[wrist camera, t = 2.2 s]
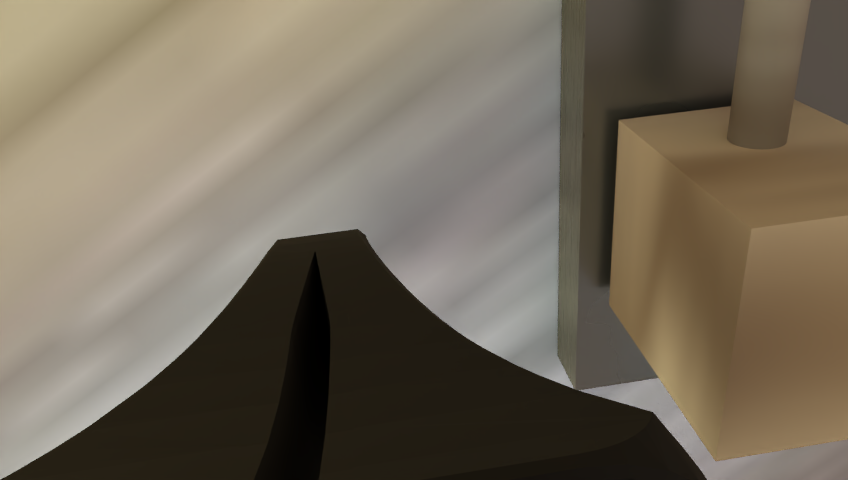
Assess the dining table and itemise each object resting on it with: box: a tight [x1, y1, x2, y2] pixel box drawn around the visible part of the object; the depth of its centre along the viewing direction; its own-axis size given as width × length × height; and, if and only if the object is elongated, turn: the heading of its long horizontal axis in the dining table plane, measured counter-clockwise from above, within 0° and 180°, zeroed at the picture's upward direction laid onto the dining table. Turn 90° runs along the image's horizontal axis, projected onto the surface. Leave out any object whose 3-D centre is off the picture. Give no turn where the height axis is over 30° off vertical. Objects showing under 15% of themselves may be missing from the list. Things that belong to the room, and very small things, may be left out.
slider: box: [609, 0, 848, 461], centre depth 9 cm, size 10×3×4 cm, turn 5°
